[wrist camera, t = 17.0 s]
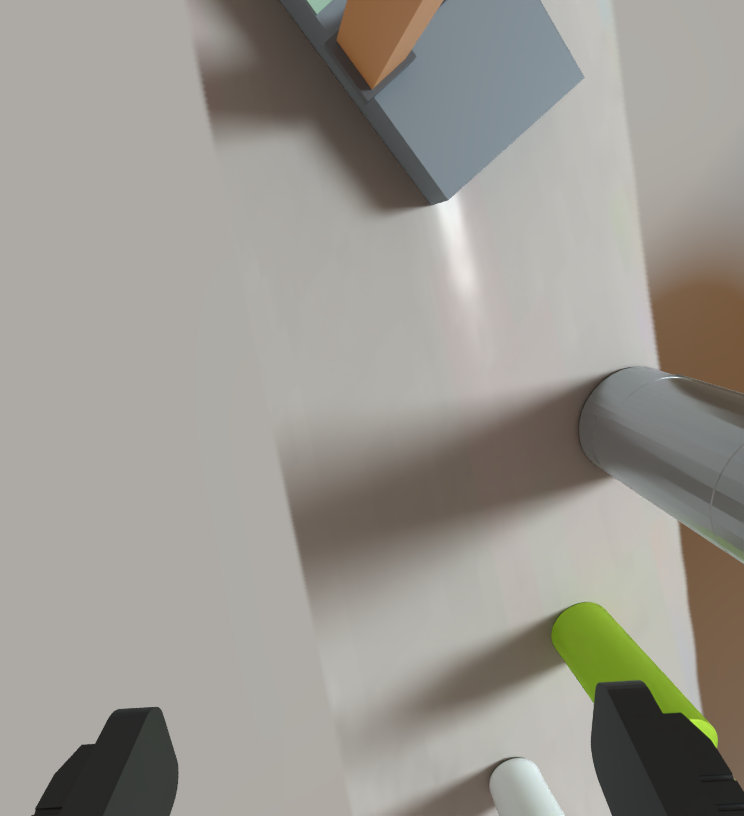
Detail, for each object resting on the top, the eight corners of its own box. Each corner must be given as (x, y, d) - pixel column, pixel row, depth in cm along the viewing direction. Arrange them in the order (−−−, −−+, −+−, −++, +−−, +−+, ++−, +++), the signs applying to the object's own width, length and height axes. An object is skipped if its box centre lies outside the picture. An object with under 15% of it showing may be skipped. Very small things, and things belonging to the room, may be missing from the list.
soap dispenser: (531, 647, 49) (688, 892, 30) (579, 591, 49) (771, 807, 30) (574, 673, 51) (748, 919, 32) (621, 619, 50) (828, 839, 31)
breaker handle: (365, 105, 31) (427, -2, 18) (323, 47, 29) (358, -111, 17) (413, 61, 30) (510, -79, 18) (372, 2, 29) (445, -194, 16)
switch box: (430, 205, 37) (448, 199, 33) (246, -46, 31) (241, -88, 28) (552, 96, 36) (585, 77, 33) (386, -181, 31) (401, -243, 27)
